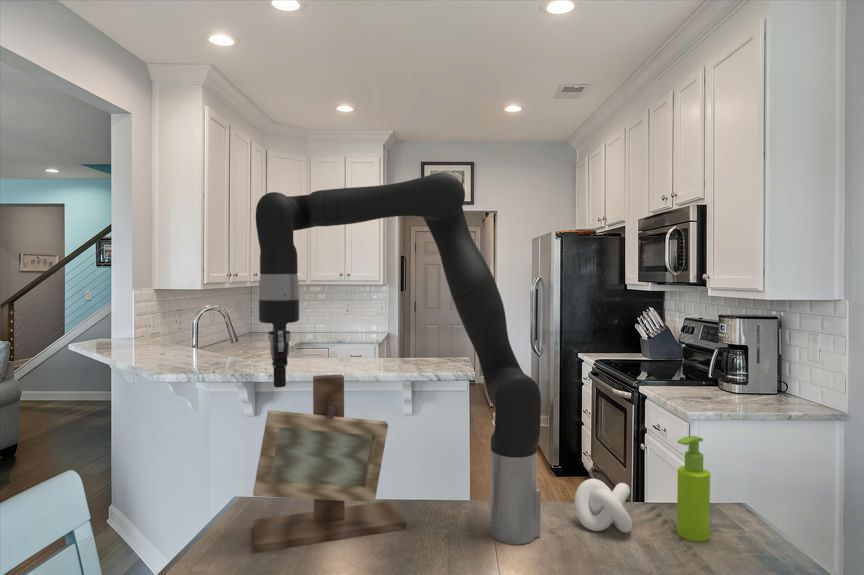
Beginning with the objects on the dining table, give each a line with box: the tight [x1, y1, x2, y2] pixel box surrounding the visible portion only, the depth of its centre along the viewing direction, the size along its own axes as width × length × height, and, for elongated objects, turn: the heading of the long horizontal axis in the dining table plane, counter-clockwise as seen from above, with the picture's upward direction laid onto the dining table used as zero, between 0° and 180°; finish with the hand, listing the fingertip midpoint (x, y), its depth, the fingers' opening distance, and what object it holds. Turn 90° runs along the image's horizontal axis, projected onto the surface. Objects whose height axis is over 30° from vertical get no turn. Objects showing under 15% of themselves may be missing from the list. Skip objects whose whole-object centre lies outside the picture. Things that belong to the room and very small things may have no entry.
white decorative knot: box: [573, 478, 633, 534], centre depth 112 cm, size 11×12×9 cm
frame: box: [252, 406, 389, 503], centre depth 108 cm, size 24×2×18 cm, turn 109°
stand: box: [253, 373, 407, 554], centre depth 111 cm, size 30×11×32 cm, turn 109°
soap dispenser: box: [676, 435, 711, 543], centre depth 109 cm, size 6×7×20 cm
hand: (279, 386), depth 105 cm, fingers closed
